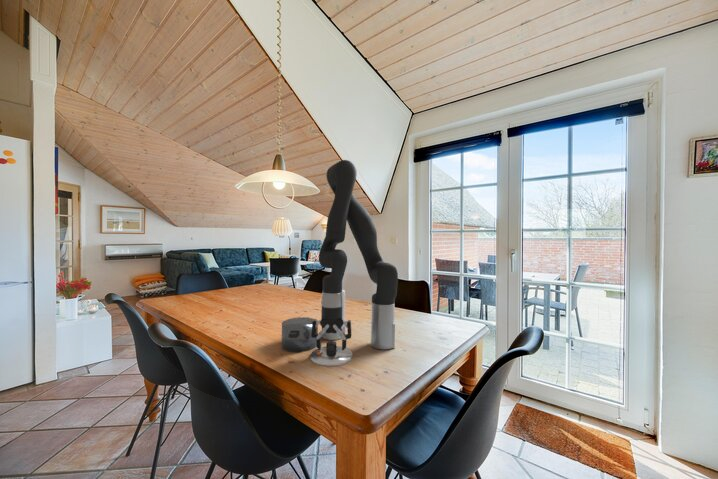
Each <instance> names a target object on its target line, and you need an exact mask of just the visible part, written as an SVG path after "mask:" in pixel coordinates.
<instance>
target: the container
mask: <svg viewBox="0 0 718 479" xmlns="http://www.w3.org/2000/svg"><path fill="white" fill-rule="evenodd" d="M321 291H322V292H321V294H322V293H323V290H321ZM342 297H343V307H342V319H343V321H346V290H345V289H343V288H342ZM341 328H342V330H343V331H344V333H345V332H346V331H345V330H346V329H345V328H346V327H345V325H344V324H343V326H342V327H341ZM345 334H346V333H345ZM321 338H322V339H324V340H329V341H336V340H337V341H338V340H341V339H342V338H341V336H340V335H339V334H338V333H327V332H324V334H323V335H322V336H321Z"/></svg>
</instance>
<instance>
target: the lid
mask: <svg viewBox="0 0 718 479" xmlns="http://www.w3.org/2000/svg"><path fill="white" fill-rule="evenodd" d="M325 344H326V346H323V347H322V346H321V349H320V350H318V348H316V349H313V351H312V352H311V353H310V356H309V358H310V361H311V362H312V363H313V364H315V365H318V366H322V367H338V366H341V365H342V366H343V365H345V364H348V363H349V362H351V360H352V359H353V352H352V351H351V350H350V349H349V348H347V347H346V349H344V350H342V346H338V345H337V342H336V341H335V340H329V341H327V342H326V343H325Z"/></svg>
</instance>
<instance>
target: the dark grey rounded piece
mask: <svg viewBox="0 0 718 479" xmlns="http://www.w3.org/2000/svg"><path fill="white" fill-rule="evenodd" d="M314 319H315V318H312V317H307V316H306V317H305V316H304V317H292V318H288V319H285V320H283V321H282V322H281V348H282V350H284V351H286V352H291V353H304V352H308V351H311V350H315V348H317V339H316V338H312V337H311V334H312V322H313V320H314ZM318 328H319V325H318V326H317V327H316V333H317V334H319V332H318V331H319V329H318Z"/></svg>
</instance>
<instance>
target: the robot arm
mask: <svg viewBox="0 0 718 479" xmlns="http://www.w3.org/2000/svg"><path fill="white" fill-rule="evenodd" d="M356 179H357V168H356V166H355V164H354V163H353V162H352V161H351V160H349V159H342V160H340V161H338V162H336V163H334V164H333V165H331V166H330V167H328V169H327V171H326V180H327V183H328V185H329V186H330V189H331V190H332V193H333V194H334V199H333V201H332V204H331V208H330V210H329V213H328V216H327V222H326V228H325V229H326V230H325V237H324V239H323V242H322V244H321V247H320V250H319V252H318V262H319V265H320V266H321V267H322V268H325V269H331V271H330V274H327V275H324V276H323V278H322V291H323V293H322V292H321V294H322V295H321V304H320V305H321V317H320V318H321V319H320V320H318V319H316V318H313V319H314V320H313V322H312V334H311V337H312V338H316V339H317V346H316V349H318V350H320V349H321V347H322V335H323V334H324V332H327V333H338V334H339V335H340V336H341V339H342V340H341V347H342V350H344V349H346V348H347V340H348V339H351V338H352V336H353V335H352V321H351V320H350V319H348V320H345V321H343V319H342V307H343V297H342V289H343V278H344V276H345V272H346V269H347V264H348V256H347V253H346V252H345V251H344V250H343V249H339V248H338V249H336V248H337V245H338V244H341V243H343V242H344V241H345V238H346V229H347V223H348V227H349V229H350V231H351V234H352V236H353V238H354V240H355V242H356V245H357V247H358V249H359V251H360V253H361V256H362V258H363V261H364V265H365V267H366V270H367V273H368V276H369V280H371V281H372V282H373V283H374V284H376V291H375V293H373V294H372V296H371V318H370V320H371V321H370V322H371V325H370V326H371V328H370V329H371V331H370V345H371V347H373V348H374V349H376V350H390V349H395V347H396V346H395V344H396V343H395V341H396V339H395V338H396V324H395V323H396V322H395V314H396V312H395V307H396V306H395V305H396V304H395V303H396V302H395V301H396V298H397V294H398V286H399V285H398V284H399V280H398V279H399V276H398V275H399V273H398V269H397V267H396V266H395V265H394V264H392V263H390V262H385V261H384V260H383V258H382V256H381V253H380V251H379V248H378V237H377V236H378V235H377V233H378V232H377V229H376V227H375V224H374V221H373V218H372V216H371V214H370V213H369V212H368V210H367V208H365V206H363V204H362V203H361V202H359V200H358V199H357V197H356V196H355V194H354V192H353V191H354V187H355V183H356ZM343 324H344V325H345V328H347V334H346V333H344V331H343V330H342V328H341V327H342V326H343ZM319 325H320V326H321V330H320V331H319V332H318V334H317V333H316V327H317V326H318V327H319Z"/></svg>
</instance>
